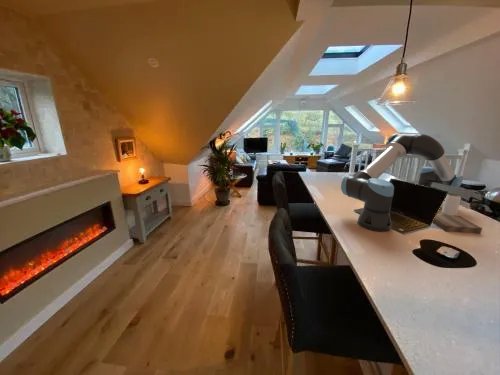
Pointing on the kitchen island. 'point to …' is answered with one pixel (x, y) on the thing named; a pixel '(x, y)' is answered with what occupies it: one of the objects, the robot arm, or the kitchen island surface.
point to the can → (451, 204)
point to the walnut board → (456, 224)
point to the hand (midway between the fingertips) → (455, 205)
